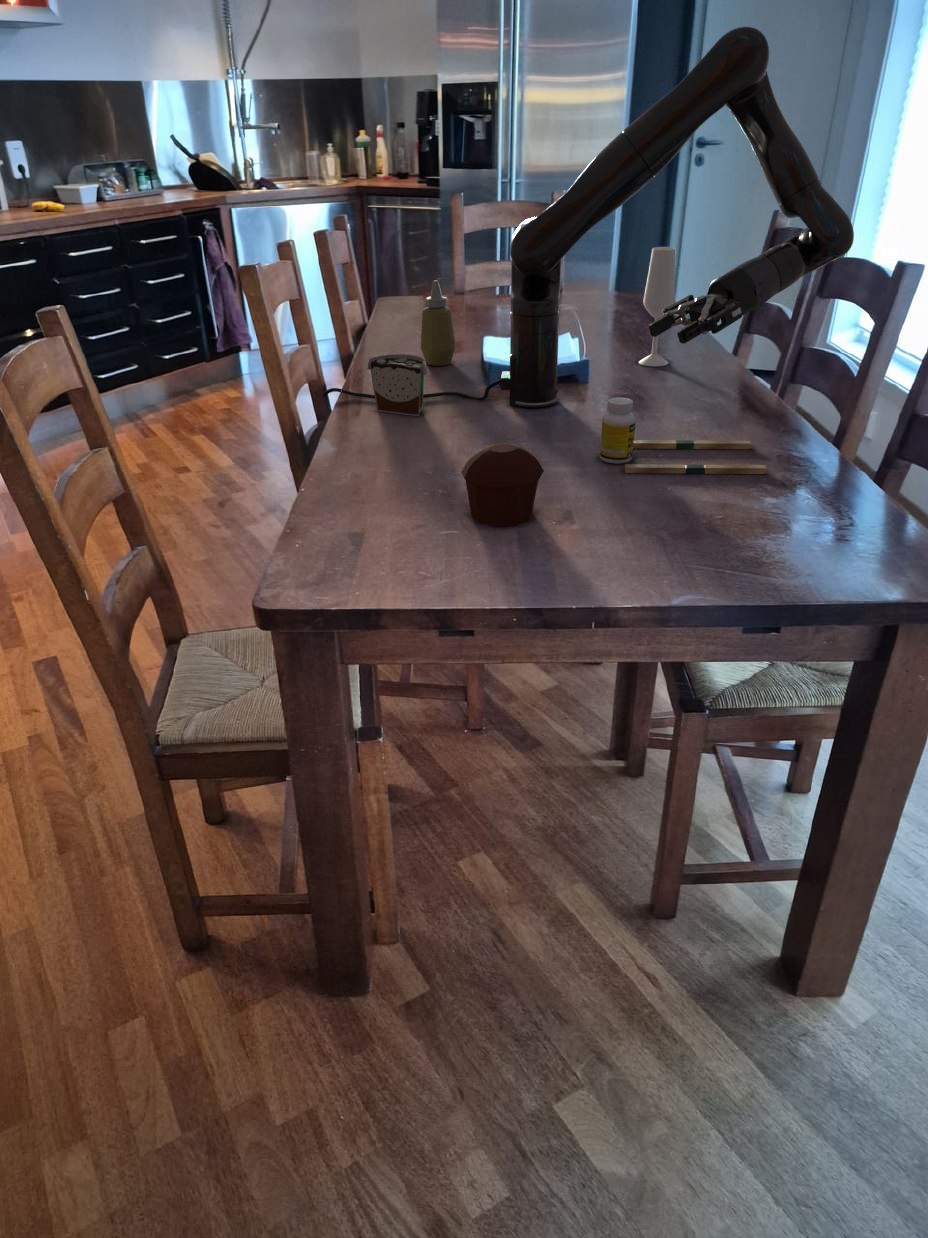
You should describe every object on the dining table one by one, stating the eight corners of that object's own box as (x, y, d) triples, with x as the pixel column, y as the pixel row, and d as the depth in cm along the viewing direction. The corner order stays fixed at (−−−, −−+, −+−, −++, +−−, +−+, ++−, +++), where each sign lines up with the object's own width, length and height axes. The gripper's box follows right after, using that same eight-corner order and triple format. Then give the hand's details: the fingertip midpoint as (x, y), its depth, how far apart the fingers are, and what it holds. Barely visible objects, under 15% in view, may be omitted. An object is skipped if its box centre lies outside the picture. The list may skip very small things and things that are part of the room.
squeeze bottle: (461, 359, 202) (459, 278, 192) (449, 368, 195) (446, 284, 186) (428, 357, 204) (425, 276, 195) (416, 366, 197) (411, 283, 188)
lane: (625, 473, 138) (625, 467, 138) (618, 445, 149) (619, 440, 149) (765, 474, 136) (766, 468, 136) (748, 446, 148) (749, 440, 147)
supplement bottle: (631, 465, 141) (636, 406, 136) (598, 463, 142) (601, 405, 137) (632, 454, 146) (637, 396, 140) (600, 452, 146) (604, 395, 141)
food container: (440, 408, 170) (438, 356, 165) (426, 417, 165) (423, 364, 160) (385, 401, 175) (382, 351, 169) (370, 410, 170) (366, 358, 165)
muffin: (481, 536, 119) (480, 467, 114) (450, 507, 128) (448, 442, 123) (556, 520, 123) (559, 453, 118) (521, 493, 132) (522, 430, 127)
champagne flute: (656, 367, 192) (666, 251, 179) (632, 362, 196) (641, 248, 184) (674, 362, 195) (686, 247, 183) (650, 357, 200) (660, 245, 188)
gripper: (713, 263, 148) (635, 308, 146) (768, 269, 136) (684, 318, 135) (723, 305, 152) (647, 349, 150) (777, 314, 140) (695, 362, 138)
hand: (665, 334), depth 142 cm, fingers open, 8 cm apart
